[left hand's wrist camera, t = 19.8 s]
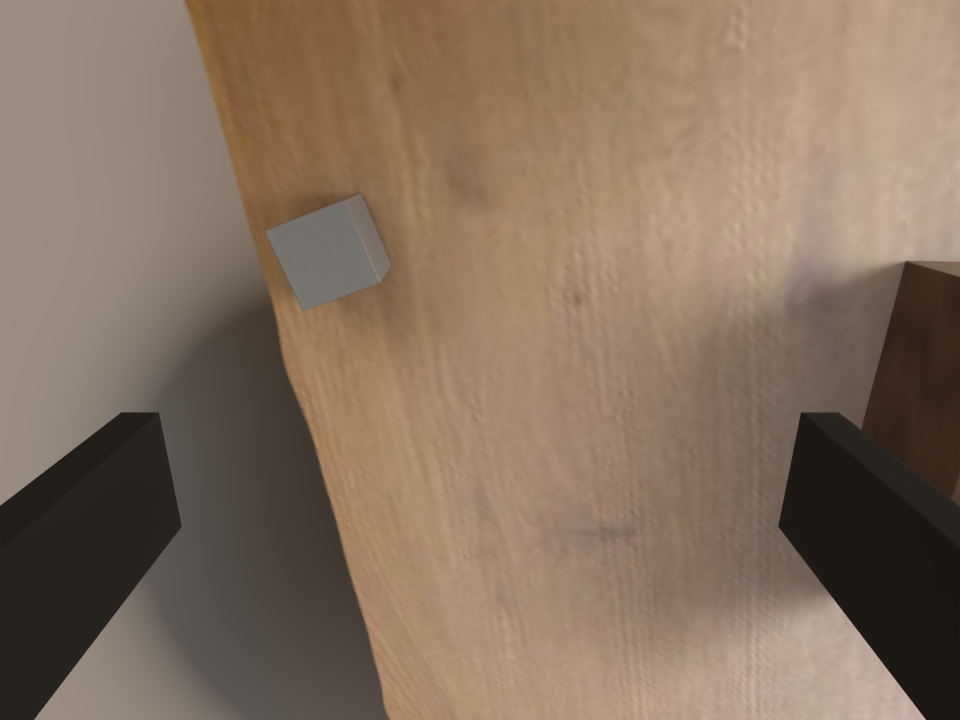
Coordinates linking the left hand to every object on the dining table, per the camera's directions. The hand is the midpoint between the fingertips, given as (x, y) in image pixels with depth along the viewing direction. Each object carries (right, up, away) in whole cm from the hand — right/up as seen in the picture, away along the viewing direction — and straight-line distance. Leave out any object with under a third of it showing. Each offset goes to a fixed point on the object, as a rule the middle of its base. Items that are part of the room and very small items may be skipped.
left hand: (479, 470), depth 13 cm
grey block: (-9, +10, +27) cm, 30 cm away
